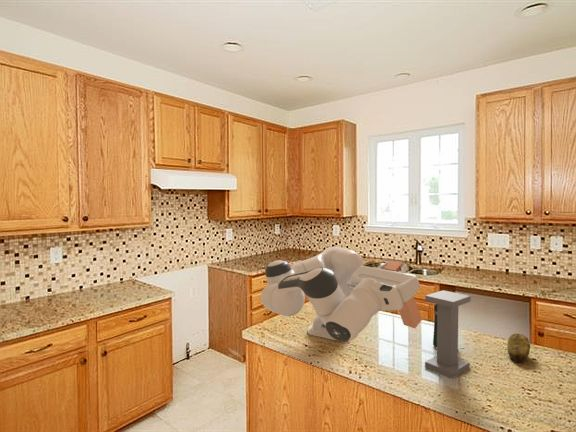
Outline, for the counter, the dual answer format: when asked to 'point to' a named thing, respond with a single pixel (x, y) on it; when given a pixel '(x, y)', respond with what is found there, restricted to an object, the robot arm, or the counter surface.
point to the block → (409, 308)
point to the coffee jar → (435, 326)
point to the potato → (518, 347)
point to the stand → (447, 334)
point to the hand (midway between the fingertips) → (397, 264)
